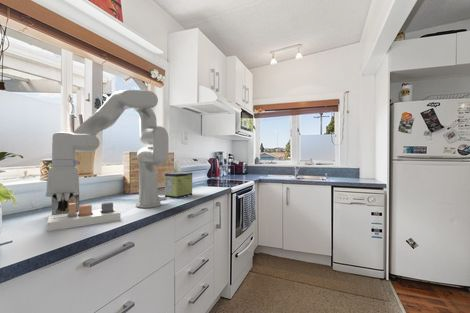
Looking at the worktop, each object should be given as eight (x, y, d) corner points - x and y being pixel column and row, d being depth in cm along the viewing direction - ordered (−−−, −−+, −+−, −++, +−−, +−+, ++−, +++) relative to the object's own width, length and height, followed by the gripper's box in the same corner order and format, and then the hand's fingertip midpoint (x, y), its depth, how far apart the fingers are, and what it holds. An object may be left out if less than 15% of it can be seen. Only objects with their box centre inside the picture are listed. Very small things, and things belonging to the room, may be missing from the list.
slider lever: (76, 213, 95) (76, 202, 95) (77, 216, 92) (77, 203, 92) (67, 215, 94) (67, 203, 94) (67, 217, 90) (67, 204, 90)
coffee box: (69, 210, 115) (68, 177, 115) (79, 210, 114) (79, 178, 114) (50, 214, 106) (50, 179, 106) (62, 215, 105) (62, 180, 105)
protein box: (192, 195, 159) (192, 172, 158) (176, 198, 145) (176, 174, 145) (181, 193, 164) (181, 171, 164) (164, 197, 150) (164, 173, 150)
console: (114, 214, 108) (114, 207, 108) (120, 219, 98) (120, 212, 98) (48, 223, 93) (48, 215, 93) (47, 231, 84) (47, 222, 84)
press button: (91, 214, 99) (91, 204, 99) (92, 217, 95) (92, 206, 95) (78, 216, 96) (78, 205, 96) (79, 218, 93) (79, 207, 92)
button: (112, 212, 104) (112, 201, 103) (114, 214, 100) (113, 203, 100) (100, 213, 101) (100, 203, 101) (102, 215, 97) (102, 204, 97)
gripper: (85, 163, 99) (84, 207, 98) (39, 163, 90) (38, 211, 89) (87, 164, 93) (86, 210, 92) (38, 164, 84) (36, 215, 83)
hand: (62, 210), depth 91 cm, fingers closed
